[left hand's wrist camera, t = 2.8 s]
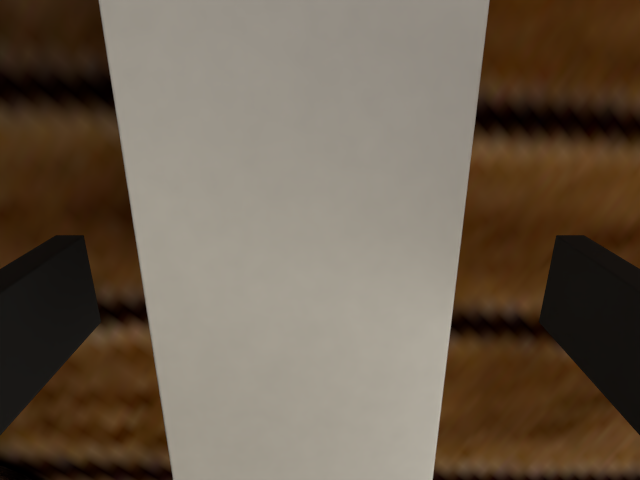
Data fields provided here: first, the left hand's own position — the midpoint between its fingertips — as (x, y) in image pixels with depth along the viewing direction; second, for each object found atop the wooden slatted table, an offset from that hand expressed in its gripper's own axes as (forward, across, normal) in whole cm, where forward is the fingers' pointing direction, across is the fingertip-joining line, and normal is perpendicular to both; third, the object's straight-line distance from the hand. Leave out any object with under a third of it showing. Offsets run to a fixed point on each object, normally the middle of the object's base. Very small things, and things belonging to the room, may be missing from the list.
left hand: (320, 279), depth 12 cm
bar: (+5, 0, -10) cm, 11 cm away
